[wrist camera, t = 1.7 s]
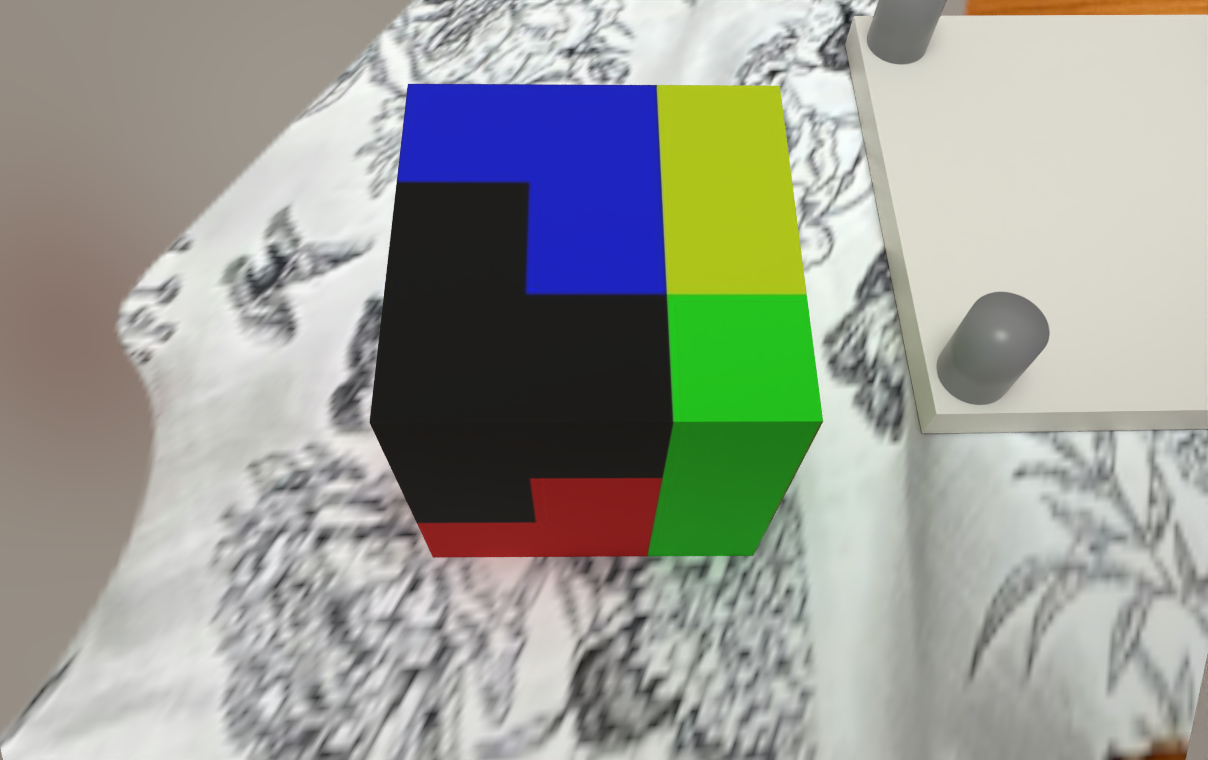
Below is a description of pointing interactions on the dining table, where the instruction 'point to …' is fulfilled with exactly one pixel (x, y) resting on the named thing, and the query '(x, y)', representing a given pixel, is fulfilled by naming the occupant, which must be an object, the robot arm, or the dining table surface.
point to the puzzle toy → (594, 320)
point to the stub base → (1042, 213)
